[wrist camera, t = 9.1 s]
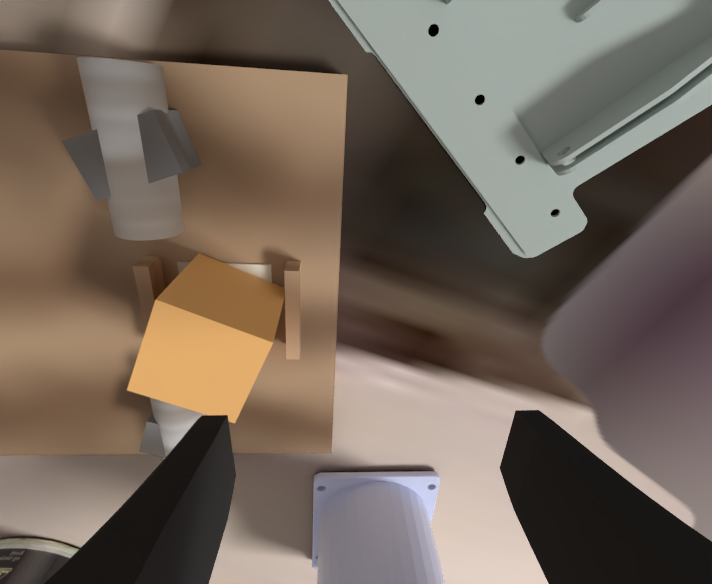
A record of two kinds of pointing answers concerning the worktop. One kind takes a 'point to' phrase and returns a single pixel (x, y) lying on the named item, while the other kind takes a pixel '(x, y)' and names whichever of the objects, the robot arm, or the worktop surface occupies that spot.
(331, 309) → the jig
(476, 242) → the worktop surface
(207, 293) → the light orange cube
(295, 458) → the worktop surface
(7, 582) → the coffee can
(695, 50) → the metal bracket
